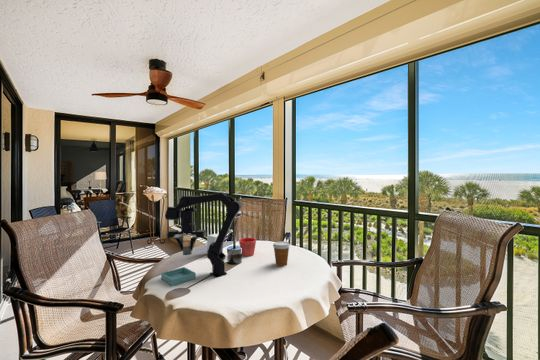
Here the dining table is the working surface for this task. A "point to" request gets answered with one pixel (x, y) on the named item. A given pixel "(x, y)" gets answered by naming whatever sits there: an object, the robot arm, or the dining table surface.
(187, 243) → the battery cell
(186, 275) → the trough tray
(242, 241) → the flower pot
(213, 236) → the supplement box
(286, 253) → the disposable coffee cup
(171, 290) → the dining table surface
